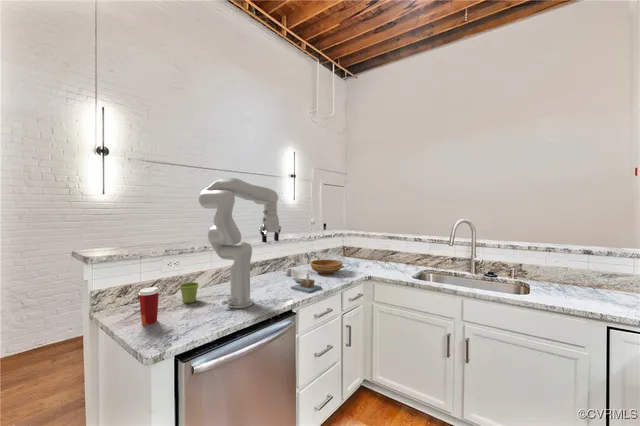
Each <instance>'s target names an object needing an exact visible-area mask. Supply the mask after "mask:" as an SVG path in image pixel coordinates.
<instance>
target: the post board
mask: <svg viewBox="0 0 640 426" xmlns="http://www.w3.org/2000/svg"><path fill="white" fill-rule="evenodd" d="M305 273H306V281H309V279H310V278H309V276H310V274H309V272H305ZM290 289H291V290H295V291H298V292H302V293H306V294H307V293H308V294H310V293H313V292H316V291H318V290H321V289H322V286H321V285H318V284H314V286H313V287H310V288H305V287H300V283H298V284H294V285H292V286H290Z"/></svg>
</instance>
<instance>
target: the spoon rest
mask: <svg viewBox="0 0 640 426" xmlns="http://www.w3.org/2000/svg"><path fill="white" fill-rule="evenodd" d="M306 273H307V272H303V271H302V270H300V269H299V268H297V267H295V266H294V267H288V268H287V270H286V273H285V276H286V277H288V276H289V277H291V278H292V280H294V282H296V283H300V281H301V280H304V279H306ZM310 278H311V277H310V275H309V279H310Z"/></svg>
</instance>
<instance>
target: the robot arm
mask: <svg viewBox="0 0 640 426" xmlns="http://www.w3.org/2000/svg"><path fill="white" fill-rule="evenodd" d="M235 197H237V198H239V199H243V200H245V201H251V202H254V203H255V204H256V205H263V217H262V223H261V225H262V226H260V227H259V228H258V230H259V234H260V236H261V242H262V243H267V242H268V241H267V237H268V236H267V234H268V233H274V234H273V236H274V238H273V239H274V241H275V242H279V241H280V237H279V235H280V232H281V230H282V226H281V225H280V221H279V215H278V212H277V211H278V201H279V195H278V193H277V192H276V191H275V190H273V189H272V188H270V187H269V188H268V187H264V186H263V187H262V186H259V185H255V184H251V183H249V182H246V181H244V180H242V179H239V178H233V177H232V178H230V177H229V178H219V179H217V180H215V181H214V182H212V183H211V184H210V185H209V186H208V187H206V188H204V189H203V190H202V191H201V192H200V194H199V196H198V202H199V205H200V206H201V207H203V208H204V209H211V210H214V209H216V212H215V214H214V217H213V224H214V225H213V226H211V227H210V228H209V230H208V232H207V238H208V242H209V243H210V245H211V247H212V249H213V250H214V252H215V253H216V254H217V256H218V257H219V258H220V259H222V260H227V261H229V260H230V261H233V263H232V265H231V267H230V270H229V271H230V273H229V274H230V277H229V279H230V280H229V281H230V295H229V296H228V298H227V299H225V300H222V301H221V304H222V306H225V305H227V307H228V308H230V309H244V308H249V307H251V306H252V305H253V304H254V300H253V299H252V298H251V260H252V255H253V248H252V245H251V244H250V243H249V242H247V241H242V233H241V231H240V229H239V228H238V226H237V224H236V222H235V219H234V217H233V210H234V206H235V203H236V199H235Z"/></svg>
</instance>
